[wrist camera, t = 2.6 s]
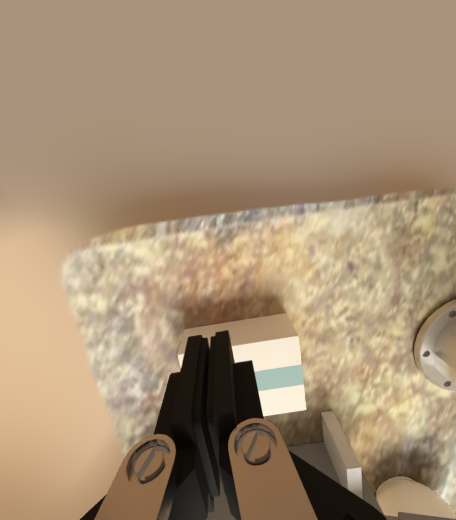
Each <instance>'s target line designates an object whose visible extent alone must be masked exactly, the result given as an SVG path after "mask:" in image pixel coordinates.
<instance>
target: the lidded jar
mask: <svg viewBox="0 0 456 520" xmlns="http://www.w3.org/2000/svg"><path fill="white" fill-rule="evenodd" d="M376 500H377V502H378V504H379V506H380V508H381V510H382V512H383V514H384V515H388V516H395V517H398V512H405V513H413V514H420V515H428V516H436V517H444V518H452V519H456V512H455V511H454V510H453V509H452V508H451V506H450V505H449V504H448V503H447V502H446V501H445V500H444V499H443V498H442V497H441V496H439V495H438V494H437V493H436V492H434V491H433V490H432V489H430V488H428V487H427V486H425V485H423V484H421V483H419V482H416V481H414V480H413V479H411V478H409V477H406V476H396V477H392V478H389V479H387V480H385V481H384V482H382V483H381V484H380V485H379V487H378V488H377V491H376Z"/></svg>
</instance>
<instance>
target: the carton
mask: <svg viewBox="0 0 456 520" xmlns="http://www.w3.org/2000/svg"><path fill="white" fill-rule="evenodd" d="M225 330H229V335H230V340H231V346H232V351H233V356H234V361H235V363H237V362H243V361H249V360H252V362H253V367H254V372H255V377H256V382H257V387H258V392H259V397H260V402H261V407H262V412H263V416H269V415H276V414H283V413H289V412H296V411H303V410H306V402H305V392H304V381H303V371H302V364H301V355H300V346H299V336H298V334H297V332H296V330H295V328H294V326H293V325H292V323H291V321H290V319H289V317H288V315H287V313H282V314H276V315H270V316H264V317H257V318H251V319H245V320H239V321H232V322H226V323H220V324H214V325H207V326H201V327H195V328H189V329H185V331H184V334H183V337H182V341H181V344H180V348H179V351H178V359H179V363H180V367H182V362H183V357H184V353H185V348H186V343H187V339H188V337H190V336H196V335H202V337H203V338H205V337H207V338H208V342H209V347H210V340H211V336H215V332H219V331H225Z"/></svg>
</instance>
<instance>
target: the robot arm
mask: <svg viewBox="0 0 456 520" xmlns="http://www.w3.org/2000/svg"><path fill="white" fill-rule="evenodd" d="M414 357H415V362H416V364H417V367H418V369H419V370H420V371H421V373H422V374H423V375H424V376H425V377H426V378H427V379H428V380H429V381H430V382H432V383H433V384H435V385H436V386H438V387H441V388H443V389H447V390H452V391H456V299H454V300H452V301H450V302H448V303H446V304H444V305H443V306H441V307H440V308H439V309H437V310H436V311H435V312H434V313H433V314H432V315H431V316H430V317H429V318H428V319H427V320H426V321H425V323H424V324H423V325H422V327H421V329H420V331H419V333H418V335H417V338H416V341H415V346H414ZM220 477H221V482H222V486H223V490H224V494H225V495H226V497H227V501H228V506H229V510H230V514H231V515H232V516H233V517H234V518H235V519H236V520H456V519H452V518H444V517H436V516H428V515H420V514H413V513H405V512H398V517H395V516H388V515H383V514H382V513H380V512H379V511H378V510H377V509H376V508H374V507H373V506H372V505H370V504H369V503H367V502H366V501H364V500H363V499H361V498H360V497H358V496H357V495H355V494H354V493H352V492H351V491H349V490H348V489H346V488H345V487H343V486H342V485H340V484H339V483H337V482H336V481H334V480H333V479H331V478H330V477H328V476H327V475H325V474H324V473H322V472H321V471H319V470H318V469H316V468H315V467H313V466H312V465H310V464H309V463H307V462H306V461H304V460H303V459H301V458H300V457H298V456H297V455H295V454H294V453H292V452H291V451H289V450H288V449H287V447H286V444H285V442H284V440H283V437H282V435H281V433H280V432H279V430H278V428H277V427H276V426H275V425H274V424H272V423H271V422H269V421H267V420H265V419H264V417H263V412H262V407H261V402H260V397H259V392H258V387H257V382H256V377H255V372H254V367H253V362H252V360H249V361H243V362H237V363H235V361H234V356H233V351H232V346H231V340H230V335H229V330H225V331H219V332H215V336H211V340H210V347H209V342H208V338H207V337H205V338H203V337H202V335H196V336H190V337H188V339H187V343H186V348H185V353H184V357H183V362H182V367H181V371H180V372H177V373H172V374H171V375H170V377H169V380H168V384H167V387H166V391H165V395H164V399H163V402H162V406H161V410H160V413H159V417H158V421H157V425H156V428H155V432H154V435H150V436H148V437H146V438H144V439H142V440H141V441H139V442H138V443H137V444H135V445H134V446H133V448H132V449H131V450H130V451H129V452H128V453H127V455H126V457H125V458H124V460H123V462H122V464H121V466H120V468H119V470H118V472H117V474H116V476H115V478H114V480H113V482H112V485H111V487H110V488H109V491H108V493H107V494H106V495H105V496H104V497H103V498H102V499H101V500H100V501H99V502H98V503H97V504H96V505H95V506H94V507H93V508H92V509H90V510H89V511H88V512H87V513H86V514H85V515H84V516H83V517H82V518H81V519H80V520H206V519H207V517H208V513H209V512H214V497H218V496H220Z"/></svg>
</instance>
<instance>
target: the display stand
mask: <svg viewBox="0 0 456 520" xmlns="http://www.w3.org/2000/svg"><path fill="white" fill-rule="evenodd" d="M321 416H322V428H323V439H324V441H323V442H317V443H310V444H303V445H296V446H289V447H287V449H288V450H289V451H291V452H292V453H294V454H295V455H297V456H298V457H300V458H301V459H303V460H304V461H306V462H307V463H309V464H310V465H312V466H313V467H315V468H316V469H318V470H319V471H321V472H322V473H324V474H325V475H327V476H328V477H330V478H331V479H333V480H334V481H336V482H337V483H339V484H340V485H342V486H343V487H345V488H346V489H348V490H349V491H351V492H352V493H354V494H355V495H357V496H358V497H360V498H361V499H363V500H364V501H366V502H367V503H369V504H370V505H372V506H373V507H374V508H376V509H377V510H378V511H379V512H380V513H382V514H383V512H382V510H381V508H380V506H379V504H378V502H377V500H376V498H375V496H374V494H373V492H372V490H371V488H370V486H369V484H368V482H367V480H366V478H365V476H364V474H363V472H362V470H361V466H360V464H359V462H358V460H357V458H356V456H355V454H354V452H353V450H352V448H351V446H350V444H349V442H348V440H347V438H346V436H345V434H344V432H343V430H342V428H341V426H340V424H339V422H338V420H337V418H336V416H335V414H334V412H333V411H326V412H321ZM383 515H384V514H383ZM206 520H236V519H235V518H234V517H233V516H232V515H231V514H230V510H229V506H228V501H227V497H226V495H225V494H224V490H223V486H222V482H221V477H220V496H218V497H214V512H209V513H208V517H207V519H206Z"/></svg>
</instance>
